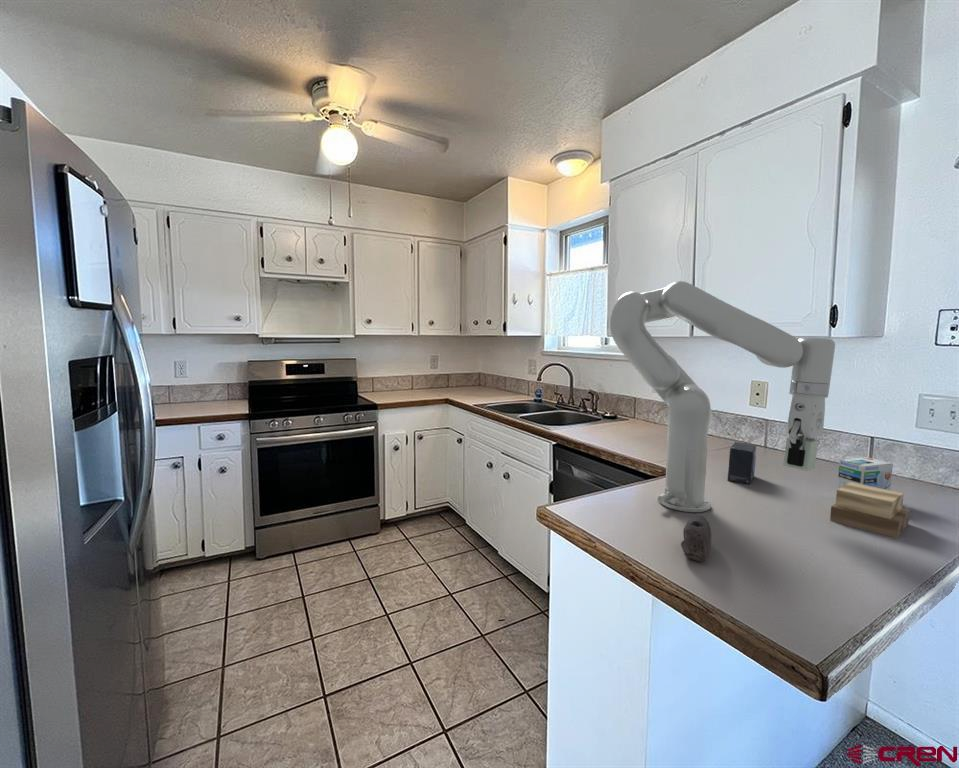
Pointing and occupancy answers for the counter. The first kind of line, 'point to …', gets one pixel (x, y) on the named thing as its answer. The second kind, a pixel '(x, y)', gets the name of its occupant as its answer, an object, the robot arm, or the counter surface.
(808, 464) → the sage block
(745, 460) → the small box
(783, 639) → the counter surface
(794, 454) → the robot arm
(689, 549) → the perforated stone tool
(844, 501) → the oak slab
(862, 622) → the counter surface
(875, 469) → the light bulb box
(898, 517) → the walnut slab
